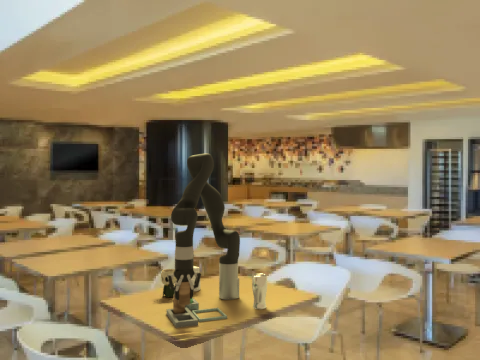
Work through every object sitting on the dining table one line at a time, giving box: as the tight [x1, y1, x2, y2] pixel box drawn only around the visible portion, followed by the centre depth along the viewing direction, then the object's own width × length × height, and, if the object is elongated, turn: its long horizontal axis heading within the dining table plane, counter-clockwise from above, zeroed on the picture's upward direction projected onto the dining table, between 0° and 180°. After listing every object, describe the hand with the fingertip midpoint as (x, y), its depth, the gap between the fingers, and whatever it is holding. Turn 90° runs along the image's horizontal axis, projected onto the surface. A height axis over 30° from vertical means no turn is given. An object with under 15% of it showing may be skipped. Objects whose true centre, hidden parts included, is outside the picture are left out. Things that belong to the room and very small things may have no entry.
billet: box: [178, 282, 190, 305], centre depth 185 cm, size 5×5×9 cm
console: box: [185, 297, 200, 312], centre depth 204 cm, size 8×8×4 cm
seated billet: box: [172, 295, 185, 314], centre depth 194 cm, size 5×5×9 cm
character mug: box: [160, 268, 177, 298], centre depth 226 cm, size 11×7×13 cm, turn 54°
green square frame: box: [191, 307, 228, 323], centre depth 194 cm, size 12×12×2 cm
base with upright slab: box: [191, 265, 201, 292], centre depth 240 cm, size 9×9×12 cm
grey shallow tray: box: [165, 307, 199, 329], centre depth 189 cm, size 18×9×3 cm, turn 21°
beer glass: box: [251, 272, 268, 310], centre depth 209 cm, size 7×7×15 cm
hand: (183, 298), depth 185 cm, fingers closed on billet, 5 cm apart
